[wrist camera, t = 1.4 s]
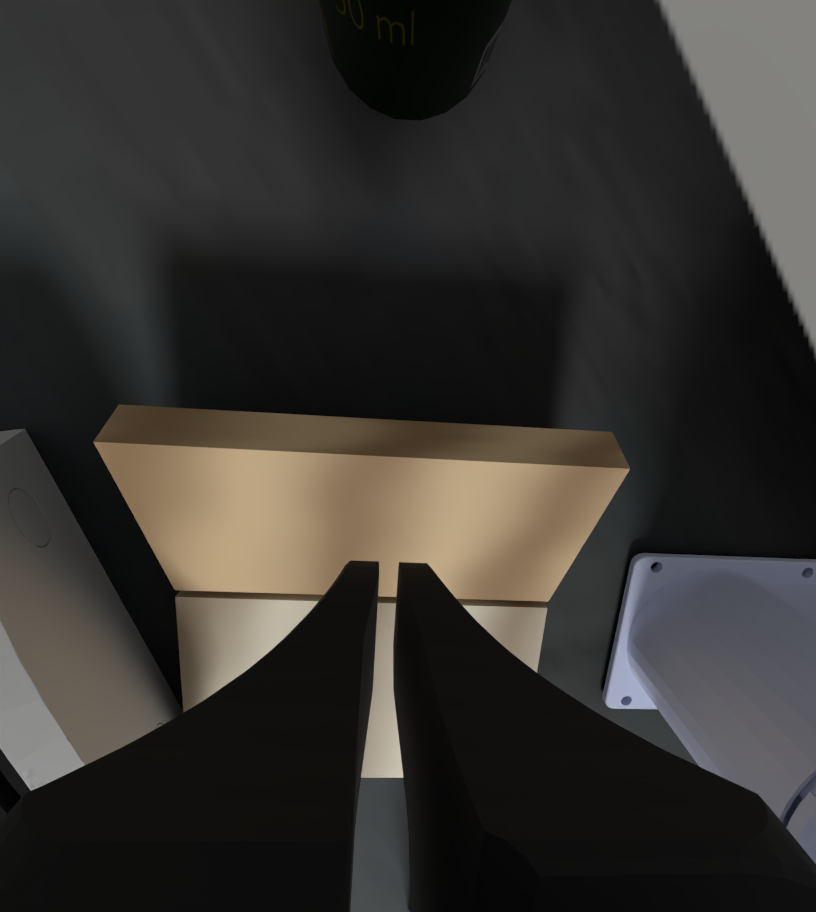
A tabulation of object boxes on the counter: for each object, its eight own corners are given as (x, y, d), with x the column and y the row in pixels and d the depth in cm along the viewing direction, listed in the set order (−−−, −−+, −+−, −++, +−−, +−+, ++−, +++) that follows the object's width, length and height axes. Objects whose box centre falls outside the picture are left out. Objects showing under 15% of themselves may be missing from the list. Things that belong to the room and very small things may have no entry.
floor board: (535, 587, 21) (547, 608, 19) (510, 748, 23) (519, 777, 21) (191, 576, 20) (175, 597, 18) (202, 745, 22) (187, 776, 20)
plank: (612, 432, 15) (630, 468, 13) (539, 567, 20) (548, 601, 19) (118, 404, 14) (93, 441, 12) (188, 554, 19) (174, 590, 18)
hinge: (-100, 462, 18) (-442, 544, 9) (37, 419, 19) (-132, 450, 10) (106, 778, 22) (24, 1056, 13) (205, 724, 24) (194, 941, 14)
